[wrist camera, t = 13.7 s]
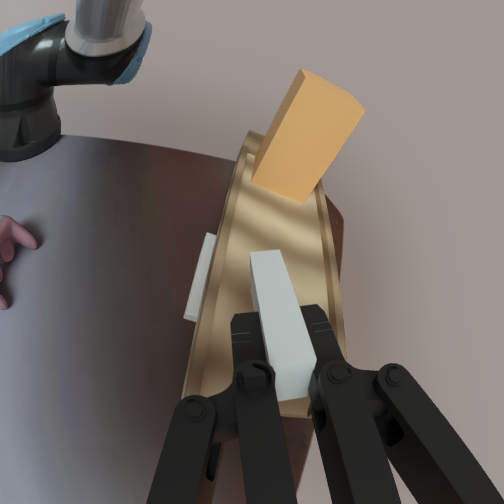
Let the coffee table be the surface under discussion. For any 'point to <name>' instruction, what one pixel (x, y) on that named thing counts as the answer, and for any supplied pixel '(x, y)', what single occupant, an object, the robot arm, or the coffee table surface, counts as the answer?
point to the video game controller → (3, 233)
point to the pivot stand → (199, 278)
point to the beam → (239, 280)
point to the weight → (305, 136)
